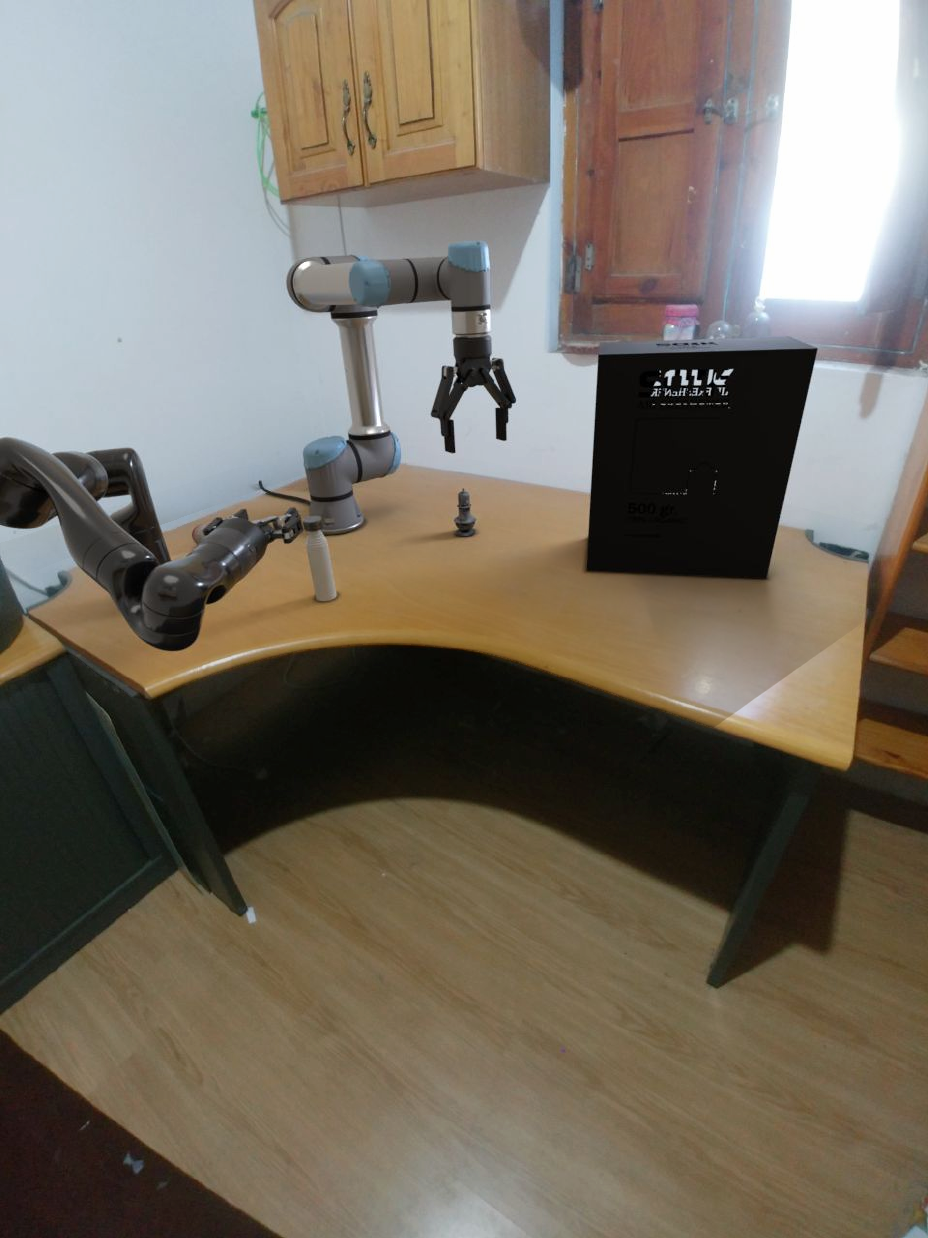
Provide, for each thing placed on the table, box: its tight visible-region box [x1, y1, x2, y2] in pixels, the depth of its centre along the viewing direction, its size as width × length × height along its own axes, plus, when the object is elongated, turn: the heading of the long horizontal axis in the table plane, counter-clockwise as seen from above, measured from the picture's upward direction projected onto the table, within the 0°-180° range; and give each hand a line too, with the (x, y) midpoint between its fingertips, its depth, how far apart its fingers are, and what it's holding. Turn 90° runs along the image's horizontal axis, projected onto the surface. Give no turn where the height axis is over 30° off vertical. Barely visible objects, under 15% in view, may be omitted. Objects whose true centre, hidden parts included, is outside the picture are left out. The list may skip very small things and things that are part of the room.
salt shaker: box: [453, 487, 477, 537], centre depth 157 cm, size 6×6×12 cm
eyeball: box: [191, 523, 208, 546], centre depth 159 cm, size 6×6×6 cm
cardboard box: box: [585, 335, 819, 580], centre depth 129 cm, size 38×20×45 cm, turn 78°
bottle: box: [305, 530, 338, 602], centre depth 127 cm, size 4×4×18 cm
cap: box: [302, 516, 323, 533], centre depth 123 cm, size 4×4×2 cm
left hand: (270, 513), depth 101 cm, fingers open, 8 cm apart
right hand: (476, 445), depth 127 cm, fingers open, 13 cm apart
